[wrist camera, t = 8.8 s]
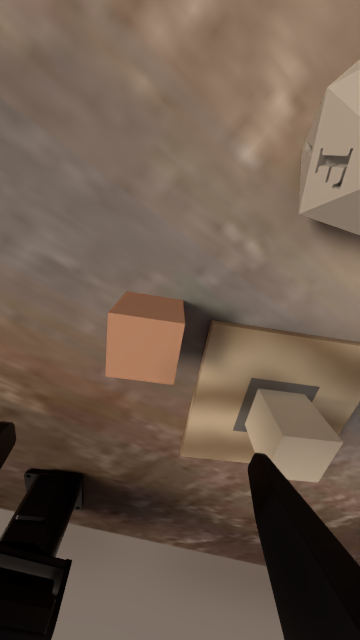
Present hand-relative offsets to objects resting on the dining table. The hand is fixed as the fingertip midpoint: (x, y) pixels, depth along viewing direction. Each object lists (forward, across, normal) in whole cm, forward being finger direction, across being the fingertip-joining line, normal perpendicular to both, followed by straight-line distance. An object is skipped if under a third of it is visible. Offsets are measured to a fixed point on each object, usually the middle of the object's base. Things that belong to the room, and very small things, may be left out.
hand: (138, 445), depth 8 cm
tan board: (+11, -12, +6) cm, 18 cm away
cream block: (+10, -12, +6) cm, 17 cm away
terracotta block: (+11, +1, 0) cm, 11 cm away
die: (+11, -10, -14) cm, 20 cm away
